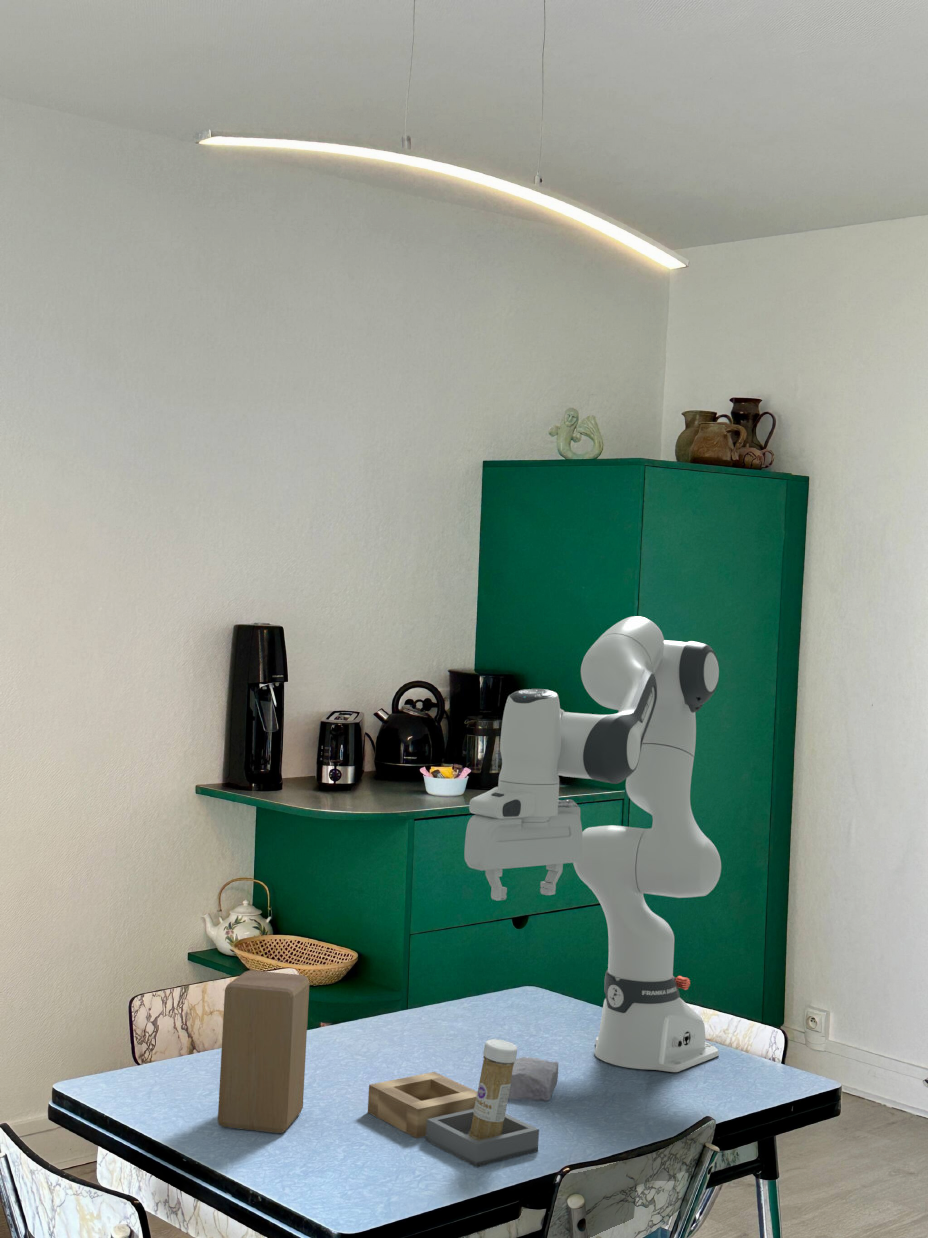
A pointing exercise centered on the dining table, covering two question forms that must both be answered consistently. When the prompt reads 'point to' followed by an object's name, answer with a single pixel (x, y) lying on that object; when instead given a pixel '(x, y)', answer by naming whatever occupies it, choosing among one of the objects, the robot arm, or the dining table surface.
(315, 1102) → the dining table surface
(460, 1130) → the tray
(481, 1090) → the sprinkles bottle
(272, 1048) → the wooden block
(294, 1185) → the dining table surface
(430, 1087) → the oak bore block
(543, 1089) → the stone block
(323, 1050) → the dining table surface
